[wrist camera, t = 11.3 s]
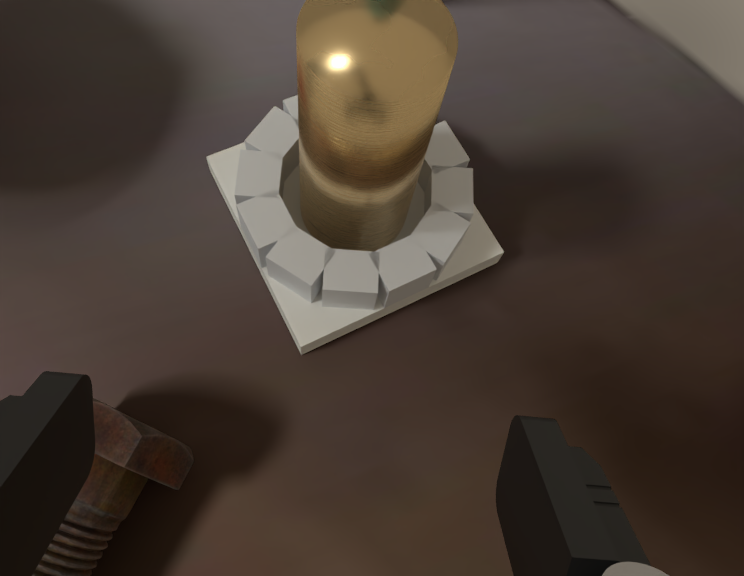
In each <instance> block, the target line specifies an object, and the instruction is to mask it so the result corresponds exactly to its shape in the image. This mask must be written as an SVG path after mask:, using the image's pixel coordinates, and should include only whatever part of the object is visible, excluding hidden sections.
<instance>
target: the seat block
mask: <svg viewBox="0 0 744 576" xmlns="http://www.w3.org/2000/svg"><path fill="white" fill-rule="evenodd" d="M283 110H284V111H282V110H281V109H279V108H277V107H276V106H274V107H273V108H272V110H271V111H270V112H269V113H268V114H267V115H266V116H265V118H264V119H263V120H262V121H261V122H260V123H259V125H258V126H257V127H256V128H255V129H254V130H253V131H252V133H251V134H250V135H249V136H248V137H247V138H246V139H245V142H244V143H241V144H239V145H236V146H233V147H231V148H228V149H225V150H223V151H220V152H217V153H215V154H212V155H210V156H207V157H206V158H207V162H208V165H209V169H210V172H211V174H212V176H213V178H214V180H215V182H216V184H217V186H218V188H219V190H220V192H221V194H222V196H223V198H224V200H225V202H226V204H227V206H228V208H229V210H230V212H231V214H232V216H233V218H234V220H235V222H236V224H237V226H238V228H239V230H240V232H241V234H242V236H243V238H244V240H245V242H246V244H247V246H248V248H249V251H250V253H251V255H252V257H253V259H254V261H255V263H256V265H257V267H258V269H259V271H260V273H261V275H262V277H263V279H264V281H265V283H266V285H267V287H268V289H269V291H270V293H271V295H272V297H273V299H274V301H275V303H276V305H277V307H278V309H279V311H280V313H281V315H282V317H283V319H284V321H285V323H286V325H287V327H288V329H289V331H290V333H291V335H292V337H293V339H294V341H295V343H296V345H297V347H298V349H299V351H300V353H301V355H302V354H304V353H307V352H309V351H311V350H313V349H315V348H317V347H319V346H321V345H324V344H326V343H328V342H330V341H332V340H334V339H336V338H338V337H341V336H343V335H345V334H347V333H349V332H351V331H353V330H355V329H358V328H360V327H362V326H364V325H366V324H368V323H370V322H372V321H375V320H377V319H379V318H381V317H383V316H385V315H387V314H389V313H392V312H394V311H396V310H398V309H400V308H402V307H404V306H406V305H409V304H411V303H413V302H415V301H417V300H419V299H421V298H423V297H426V296H428V295H430V294H432V293H434V292H436V291H438V290H440V289H443V288H445V287H447V286H449V285H451V284H453V283H455V282H457V281H460V280H462V279H464V278H466V277H468V276H470V275H472V274H474V273H477V272H479V271H481V270H483V269H485V268H487V267H489V266H491V265H494V264H496V263H497V262H498V261H499V259H500V258H501V256H502V255H503V253H504V251H503V249H502V248H501V246H500V245H499V243H498V241H497V240H496V238H495V237H494V235H493V233H492V232H491V230H490V229H489V227H488V225H487V224H486V222H485V221H484V219H483V217H482V216H481V214H480V213H479V211H478V210H477V208H476V206H475V205H474V203H473V168H467V166H468V163H469V161H470V158H469V157H468V155H467V154H466V152H465V151H464V149H463V147H462V146H461V144H460V143H459V141H458V140H457V138H456V137H455V135H454V133H453V132H452V130H451V129H450V127H449V126H448V124H447V123H446V121H443V122H440V123H438V124H435V126H434V129H433V133H432V136H431V139H430V142H429V146H428V149H427V152H426V155H425V158H424V162H423V165H422V168H421V171H420V175H419V178H418V181H417V184H416V188H415V191H414V194H413V197H412V201H411V204H410V207H409V210H408V214H407V217H406V220H405V223H404V226H403V228H402V230H401V231H400V233H399V234H398V236H397V237H396V238H395V239H394V240H393V241H392V242H391V243H390V244H388V245H387V246H385V247H383V248H381V249H378V250H376V251H374V252H372V251H359V250H345V249H332V248H330V247H328V246H327V245H325V244H323V243H322V242H320V241H319V240H317V239H315V238H314V237H313V236H312V235H311V234H310V233H309V231H308V230H307V228H306V226H305V224H304V222H303V219H302V216H301V210H300V172H299V127H298V95H296V96H293V97H291V98H288V99H285V100H283Z"/></svg>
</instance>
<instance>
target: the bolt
mask: <svg viewBox="0 0 744 576" xmlns="http://www.w3.org/2000/svg"><path fill="white" fill-rule="evenodd" d="M93 412H94V429H95V455H94V460H93V464H92V468H91V471H90V473H89V476H88V478H87V480H86V482H85V483H84V485H83V487H82V489H81V490H80V492H79V494H78V496H77V497H76V499H75V501H74V503H73V504H72V506H71V508H70V510H69V511H68V513H67V515H66V517H65V519H64V520H63V522H62V524H61V526H60V527H59V529H58V531H57V533H56V534H55V536H54V538H53V540H52V541H51V543H50V545H49V547H48V548H47V550H46V552H45V554H44V556H43V557H42V559H41V561H40V563H39V564H38V566H37V568H36V570H35V571H34V573H33V575H32V576H91V574H92V571H91V569H93V568H95V567H96V566H97V563H98V562H97V561H96V559H100V558H101V557H102V554H103V553H102V551H101V550H103V549H106V548H107V547H108V544H107V540H110V539H112V537H113V534H112V533H111V532H112V531H116V530H117V528H118V526H119V524H120V523H121V521H123V520H124V519H126V518H127V516H128V514H129V512H130V510H131V509H132V507H133V505H134V503H135V502H136V500H137V498H138V496H139V494H140V493H141V491H142V489H143V487H144V486H145V484H146V482H147V480H148V479H152V480H154V481H156V482H159V483H161V484H163V485H166V486H168V487H171V488H173V489H175V490H179V489H180V487H181V485H182V483H183V481H184V479H185V477H186V476H187V474H188V472H189V470H190V468H191V466H192V464H193V463H194V459H193V453H192V450H191V448H190V447H189V446H187V445H185V444H183V443H182V442H180V441H178V440H176V439H175V438H173V437H171V436H168V435H166V434H164V433H162V432H160V431H158V430H156V429H154V428H152V427H150V426H148V425H146V424H144V423H142V422H140V421H138V420H136V419H134V418H132V417H130V416H128V415H126V414H124V413H122V412H120V411H118V410H116V409H114V408H113V407H111V406H109V405H107V404H105V403H102V402H100V401H98V400H96V399H94V398H93Z"/></svg>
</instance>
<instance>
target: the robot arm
mask: <svg viewBox="0 0 744 576" xmlns="http://www.w3.org/2000/svg"><path fill="white" fill-rule="evenodd" d="M94 455H95V429H94V412H93V396H92V384H91V380H90V378H89V376H88V375H82V374H71V373H60V372H49V371H46V372H43V373H42V374H41V375H40V376H39V377H38V378H37V380H36V381H35V382H34V383H33V384H32V385H31V387H30V388H29V389H28V390H27V391H26V393H25V394H24V395H23V396H12V395H10V396H8V397H6V398H5V399H3V400H1V401H0V576H32V575H33V573H34V571H35V570H36V568H37V566H38V564H39V563H40V561H41V559H42V557H43V556H44V554H45V552H46V550H47V548H48V547H49V545H50V543H51V541H52V540H53V538H54V536H55V534H56V533H57V531H58V529H59V527H60V526H61V524H62V522H63V520H64V519H65V517H66V515H67V513H68V511H69V510H70V508H71V506H72V504H73V503H74V501H75V499H76V497H77V496H78V494H79V492H80V490H81V489H82V487H83V485H84V483H85V482H86V480H87V478H88V476H89V473H90V471H91V468H92V464H93V460H94ZM496 506H497V513H498V517H499V521H500V524H501V528H502V532H503V536H504V540H505V544H506V548H507V551H508V555H509V559H510V563H511V567H512V571H513V575H514V576H669V575H667V574H666V573H664V572H662V571H660V570H658V569H656V568H654V567H651V565H650V563H649V561H648V559H647V557H646V555H645V553H644V551H643V549H642V547H641V545H640V543H639V541H638V539H637V537H636V535H635V533H634V531H633V529H632V527H631V525H630V523H629V521H628V519H627V517H626V515H625V513H624V511H623V509H622V508H620V507H619V502H618V500H617V498H616V496H615V494H614V492H613V491H611V486H610V484H609V482H608V480H607V478H606V476H605V474H604V472H603V470H602V468H601V466H600V465H599V464H598V463H597V462H596V461H595V460H594V459H593V458H592V457H591V456H589V455H588V454H587V453H586V452H585V451H584V450H583V449H582V448H581V447H570V446H568V445H567V443H566V440H565V438H564V436H563V434H562V432H561V429H560V427H559V425H558V423H557V421H556V420H555V419H550V418H539V417H528V416H518V415H517V416H515V417H514V418H513V420H512V422H511V425H510V429H509V434H508V438H507V442H506V446H505V450H504V454H503V458H502V463H501V467H500V471H499V475H498V480H497V487H496Z"/></svg>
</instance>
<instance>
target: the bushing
mask: <svg viewBox="0 0 744 576" xmlns="http://www.w3.org/2000/svg"><path fill="white" fill-rule="evenodd" d="M296 38H297V83H298V127H299V172H300V210H301V216H302V219H303V222H304V224H305V226H306V228H307V230H308V231H309V233H310V234H311V235H312V236H313V237H314V238H315V239H317V240H319V241H320V242H322V243H323V244H325V245H327V246H328V247H330V248H332V249H345V250H359V251H372V252H374V251H376V250H378V249H381V248H383V247H385V246H387V245H388V244H390V243H391V242H392V241H393V240H394V239H395V238H396V237H397V236H398V234H399V233H400V231H401V230H402V228H403V226H404V223H405V220H406V217H407V214H408V210H409V207H410V204H411V201H412V197H413V194H414V191H415V188H416V184H417V181H418V178H419V175H420V171H421V168H422V165H423V162H424V158H425V155H426V152H427V149H428V146H429V142H430V139H431V136H432V133H433V129H434V126H435V123H436V120H437V116H438V113H439V110H440V107H441V103H442V100H443V97H444V94H445V90H446V87H447V84H448V81H449V77H450V74H451V71H452V68H453V65H454V61H455V58H456V54H457V49H458V35H457V30H456V26H455V23H454V20H453V18H452V16H451V14H450V12H449V11H448V9H447V7H446V6H445V5H444V4H443V2H442V1H441V0H306V2H305V3H304V5H303V7H302V9H301V11H300V14H299V16H298V21H297V29H296Z"/></svg>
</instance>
